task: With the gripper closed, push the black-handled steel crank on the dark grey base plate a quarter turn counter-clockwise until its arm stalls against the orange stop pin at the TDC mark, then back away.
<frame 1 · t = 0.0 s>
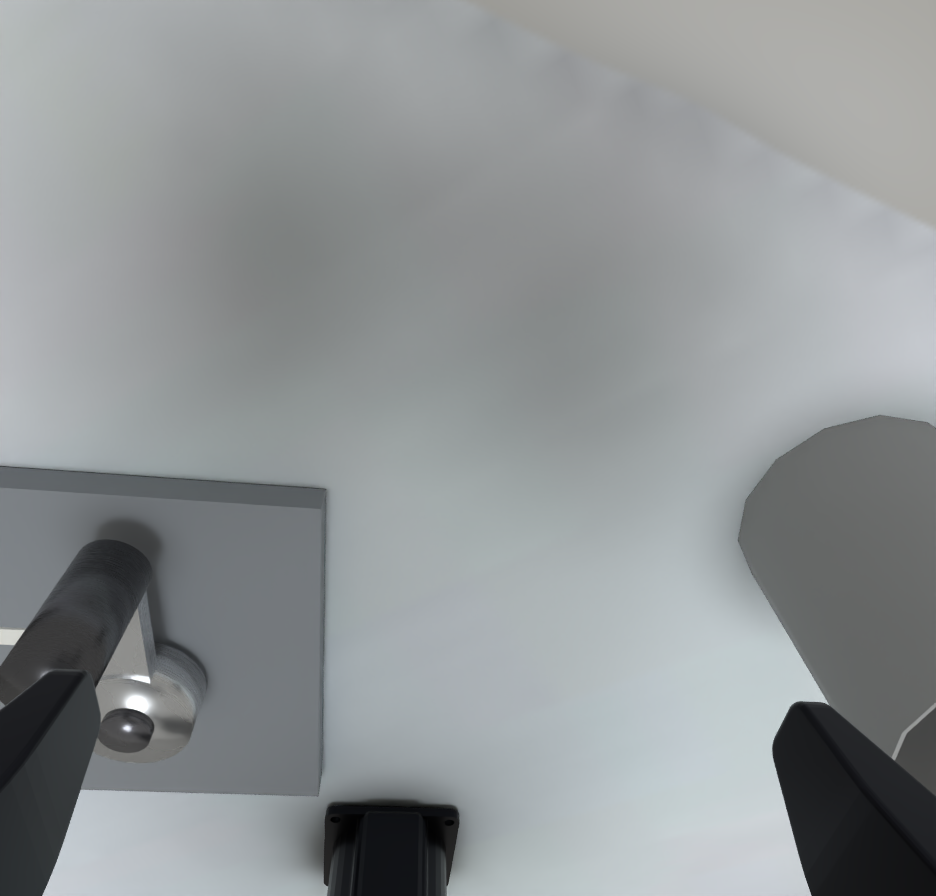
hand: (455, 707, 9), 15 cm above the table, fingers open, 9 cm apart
cup: (847, 510, 27), on the table
crank: (106, 695, 23), point 4 cm above the table, hinge at 0.0°
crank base: (161, 651, 28), on the table
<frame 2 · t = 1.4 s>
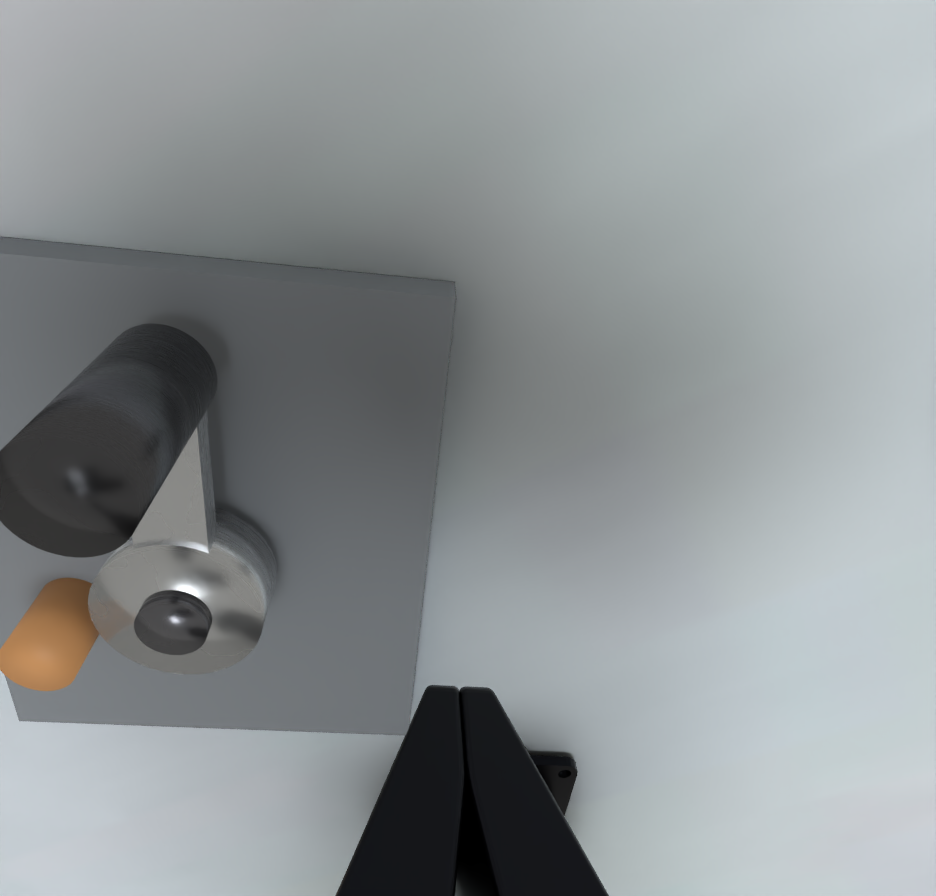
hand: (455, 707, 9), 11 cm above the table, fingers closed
crank: (151, 559, 16), point 4 cm above the table, hinge at 0.0°
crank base: (212, 533, 21), on the table
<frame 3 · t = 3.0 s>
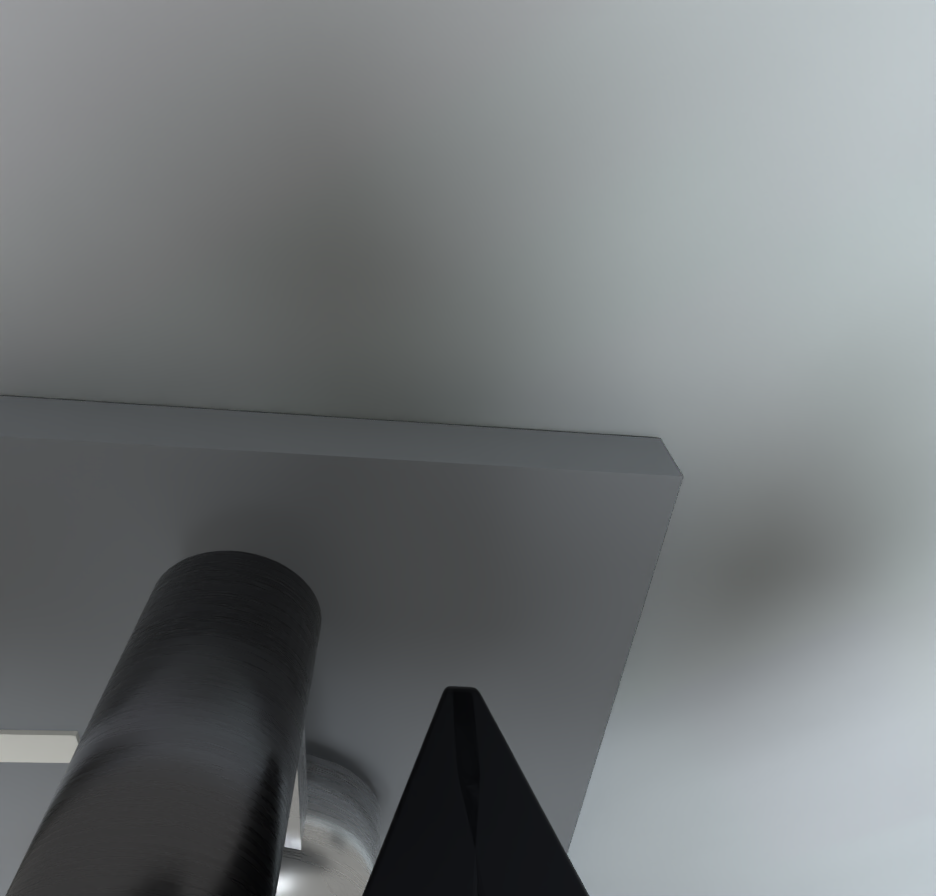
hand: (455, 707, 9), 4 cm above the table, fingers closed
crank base: (284, 753, 15), on the table
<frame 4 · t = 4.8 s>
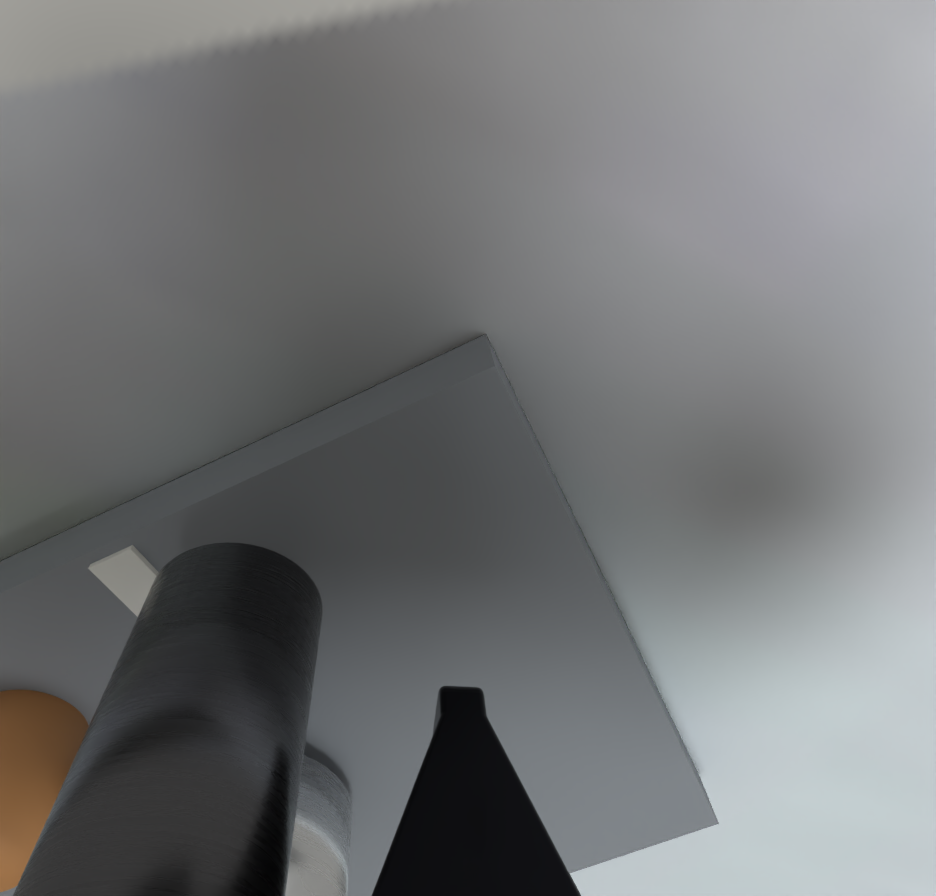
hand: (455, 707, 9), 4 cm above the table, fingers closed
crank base: (255, 747, 15), on the table
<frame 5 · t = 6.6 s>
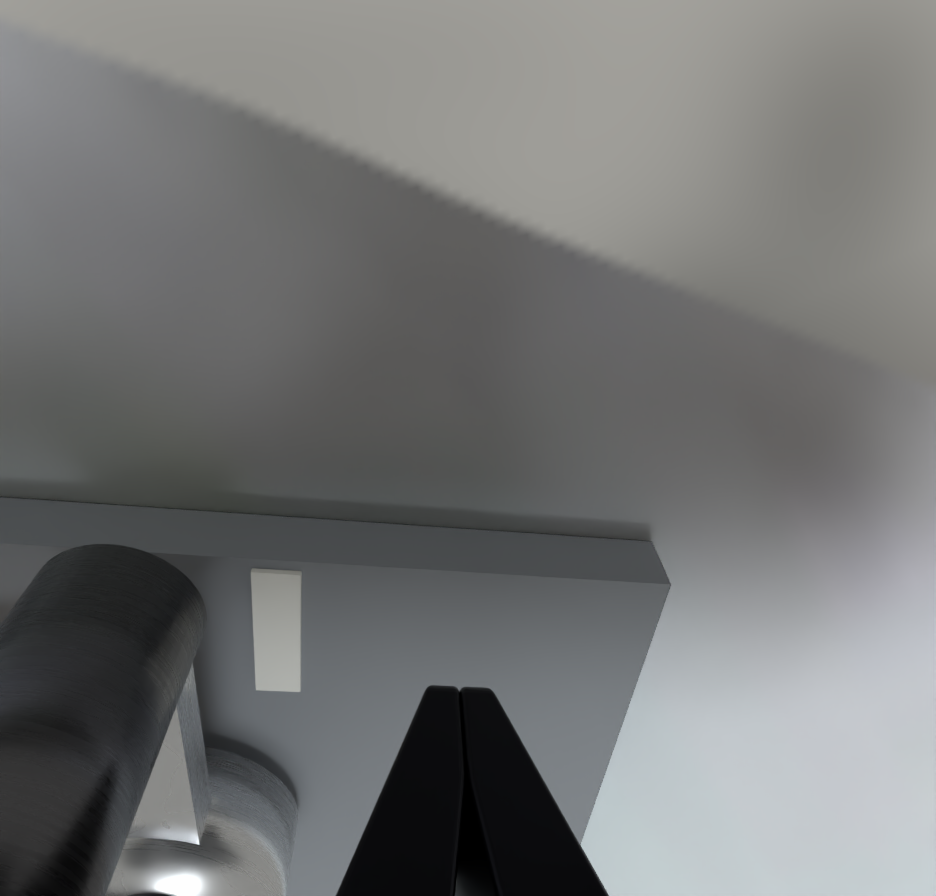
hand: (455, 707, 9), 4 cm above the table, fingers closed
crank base: (208, 748, 16), on the table
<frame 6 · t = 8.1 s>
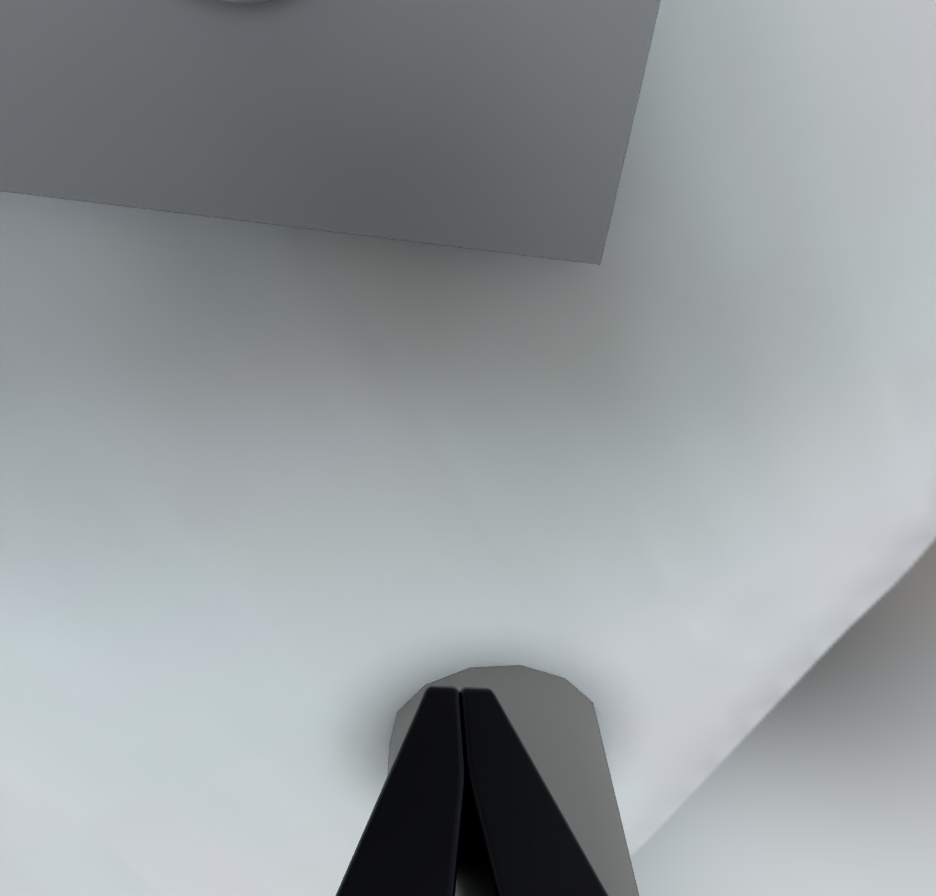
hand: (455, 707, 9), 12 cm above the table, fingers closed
cup: (495, 734, 28), on the table
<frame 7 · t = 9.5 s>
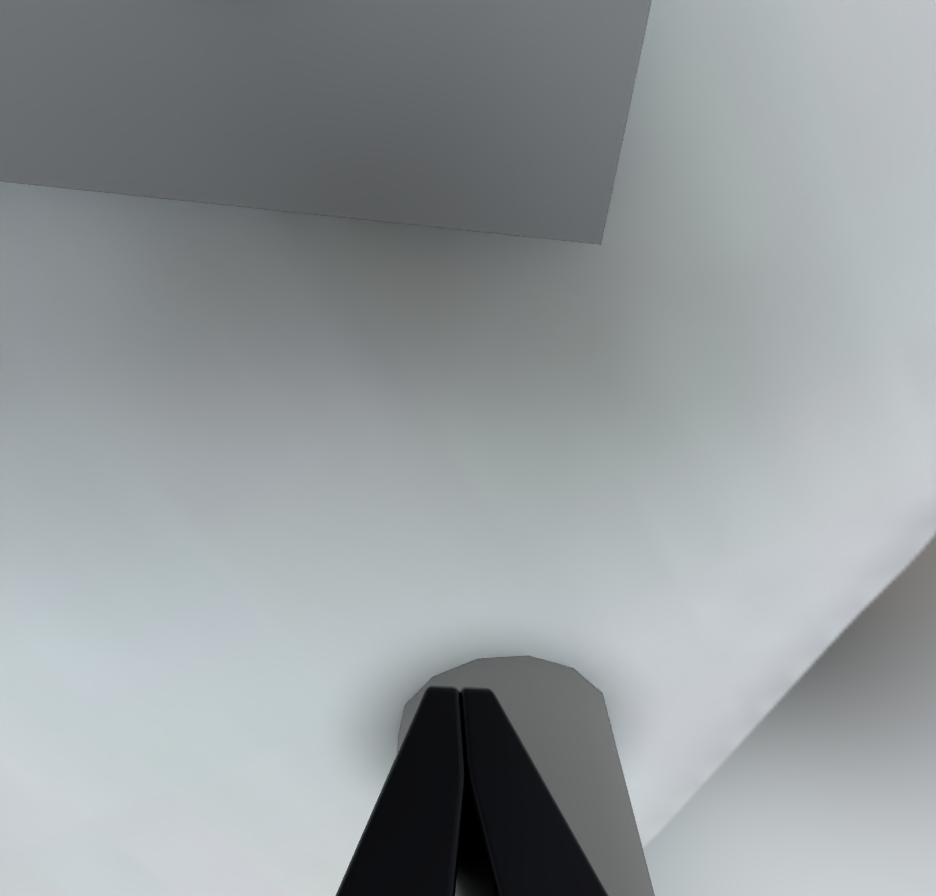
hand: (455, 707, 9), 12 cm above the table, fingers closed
cup: (503, 726, 28), on the table
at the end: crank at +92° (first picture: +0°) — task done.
